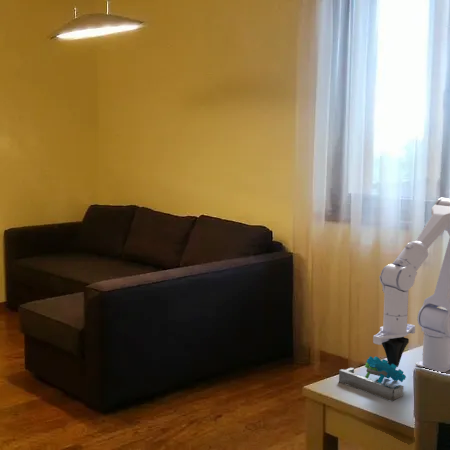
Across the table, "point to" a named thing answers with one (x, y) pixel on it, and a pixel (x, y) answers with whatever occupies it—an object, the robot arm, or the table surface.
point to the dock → (370, 385)
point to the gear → (383, 370)
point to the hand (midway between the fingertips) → (393, 366)
